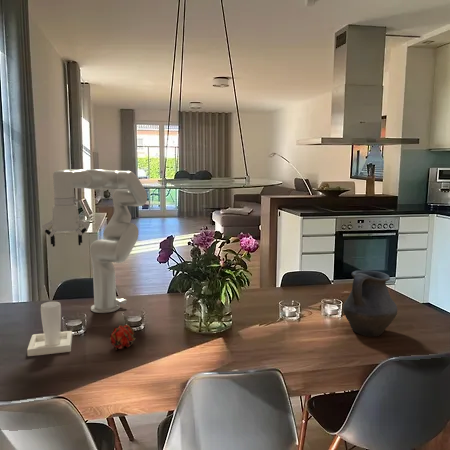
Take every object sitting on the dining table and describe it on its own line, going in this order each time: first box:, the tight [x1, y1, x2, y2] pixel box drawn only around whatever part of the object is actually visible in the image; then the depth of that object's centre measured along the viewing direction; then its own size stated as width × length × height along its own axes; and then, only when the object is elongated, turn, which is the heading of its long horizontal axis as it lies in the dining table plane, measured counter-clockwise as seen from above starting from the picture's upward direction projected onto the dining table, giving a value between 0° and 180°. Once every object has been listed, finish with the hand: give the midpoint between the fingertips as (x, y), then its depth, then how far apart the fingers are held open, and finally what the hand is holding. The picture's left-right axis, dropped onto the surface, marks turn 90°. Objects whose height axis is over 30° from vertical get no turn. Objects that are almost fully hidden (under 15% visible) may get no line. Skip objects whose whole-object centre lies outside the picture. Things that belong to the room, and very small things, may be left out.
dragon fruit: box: [109, 324, 137, 351], centre depth 164 cm, size 8×8×12 cm
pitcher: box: [342, 269, 399, 338], centre depth 177 cm, size 21×22×25 cm
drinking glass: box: [40, 301, 62, 346], centre depth 165 cm, size 7×7×15 cm
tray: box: [27, 330, 73, 357], centre depth 165 cm, size 14×14×2 cm
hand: (66, 245), depth 180 cm, fingers open, 9 cm apart
